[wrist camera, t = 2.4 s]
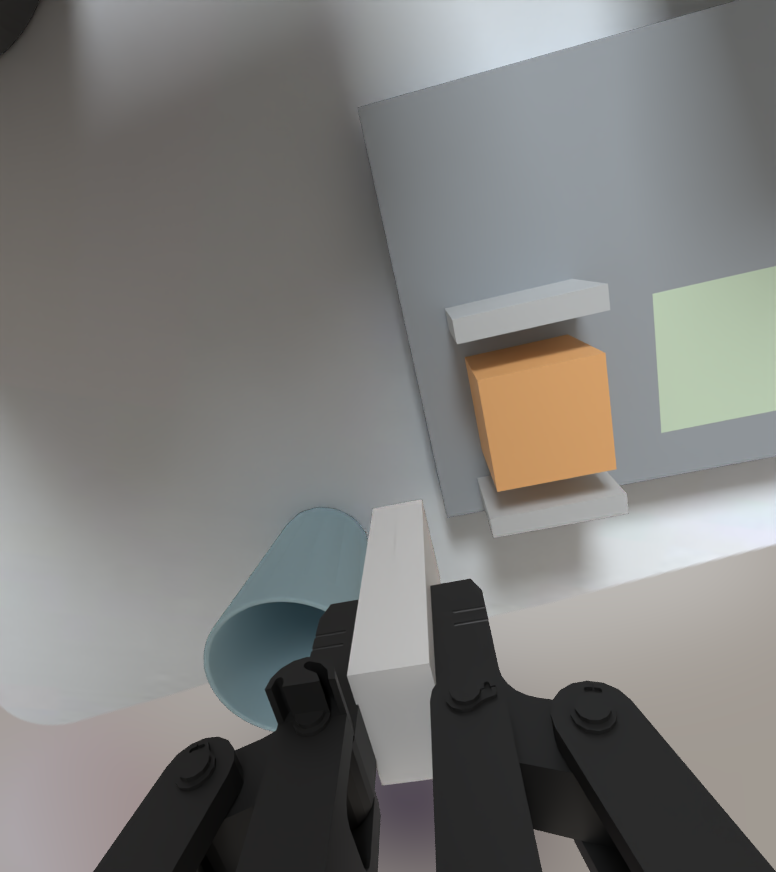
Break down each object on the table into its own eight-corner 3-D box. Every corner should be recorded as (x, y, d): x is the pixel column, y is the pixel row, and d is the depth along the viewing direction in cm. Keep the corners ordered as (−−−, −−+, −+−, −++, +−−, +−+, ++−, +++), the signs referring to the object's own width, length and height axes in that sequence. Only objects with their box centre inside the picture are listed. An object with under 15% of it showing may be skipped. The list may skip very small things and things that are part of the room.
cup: (397, 503, 31) (391, 618, 21) (374, 605, 34) (358, 749, 24) (275, 479, 31) (211, 583, 21) (260, 583, 34) (198, 719, 24)
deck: (363, 124, 25) (345, 71, 18) (1009, -56, 21) (1304, -209, 14) (443, 493, 31) (454, 564, 24) (952, 395, 28) (1138, 443, 21)
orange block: (464, 357, 25) (477, 380, 20) (567, 334, 25) (605, 353, 20) (481, 450, 27) (497, 492, 22) (579, 430, 26) (616, 469, 21)
